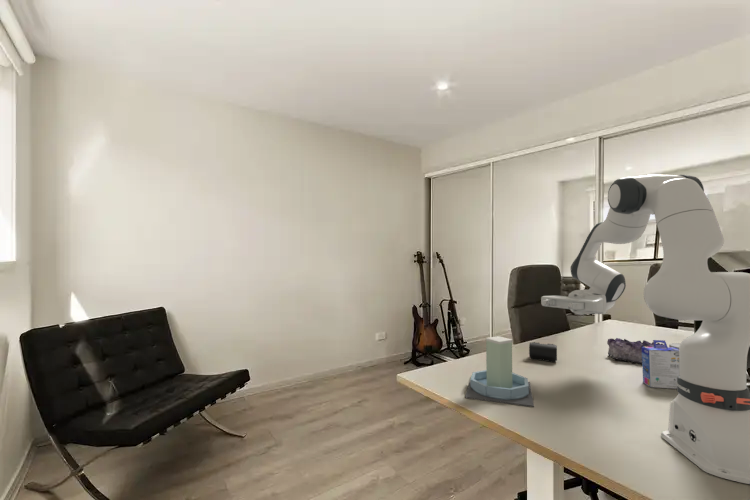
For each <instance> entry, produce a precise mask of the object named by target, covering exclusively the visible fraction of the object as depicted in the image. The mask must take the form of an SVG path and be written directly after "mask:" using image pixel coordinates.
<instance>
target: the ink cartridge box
mask: <svg viewBox="0 0 750 500" xmlns="http://www.w3.org/2000/svg"><path fill="white" fill-rule="evenodd" d="M652 342H653V343H654V347H642V364H641V366H642V367H641V368H642V383H643V384H645V385H647V387H648V388H659V389H662V388H663V389H672V390H673V389H676V390H677V384H676V381H677V376H678V375H679V349H677V348H674V347H669V346H668V345H667V344H668V343H667V342H666V340H664V339H663V340H661V339H660V340H659V339H658V340H657V339H653V340H652ZM657 343H660V344H663V345H657Z"/></svg>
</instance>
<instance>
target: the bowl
mask: <svg viewBox="0 0 750 500" xmlns="http://www.w3.org/2000/svg"><path fill="white" fill-rule="evenodd" d="M471 373H472V375H470V376H471V377H470V379H471V388H472V389H473V390H474V391H475V392H476V393H478V394H480V395H483V396H486V397H490V398H494V399H502V400H515V399H521V398H524V397H526V396H527V395H528V394H529V385H528V382H529V379H528V377H525V376H523V375H520V374H518V373H515V372H513V371H512V388H503V387H494V386H487V369H484V370H477V371H473V372H471Z"/></svg>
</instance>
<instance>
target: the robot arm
mask: <svg viewBox="0 0 750 500" xmlns="http://www.w3.org/2000/svg"><path fill="white" fill-rule="evenodd" d="M607 202H608V205H609V208H608V211H607V215H606V218H605V220H603V221H600V222H597V223H596V224H595V225H594V226H593V227H592V229H591V230H590V231H589V234H587V236H586V239H585V240H584V243H583V244H582V246H581V249H580V251H579V252H578V255H577V256H576V258H575V259H574V260H573V262H572V264H571V266H570V274H571V277H572V278H573V279H575V280H577V281H578V282H581V283H583V284H585V285H586V286H587V287H589V289H574V290H572V291H571V292H569V294H568V296H565V295H564V296H563V295H543V296H541V297H540V300H541V301H540V303H541V306H542V307H547V308H548V307H549V308H558V309H564V310H565V309H566V310H570V311H571V312H572V313H573V314H574V315H580V316H583V315H605V314H607V311H609V310H610V309H612V308H613V307H614V306H615V304H616V302H617V300H619V298H621V296H622V295H623V293H624V292H625V290H626V286H627V285H626V278H625V275H624V274H623V273H621V272H619V271H618V270H615V269H614V268H612V267H610V266H608V265H606V264H604V263H603V262H601V261H599V260H598V259H597V258H596V254H597V253H598V251H599V249H600V247H601V245H602V243H604V244H605V243H608V244H615V245H624V244H630V243H633V242H635V241H638V240H639V239H640V238H641V237H642V236H643V235H644V233H645V231H646V229H647V226H648V223H649V220H650V217H651V215H653V216H654V217H655V218H654V219H655V223H656V226H657V230H658V233H659V236H660V241H661V242H660V243H661V246H662V251H663V252H662V255H663V257H662V262H661V264H660V265H661V266H660V268H659V270H658V271H657V272H656V273H655V274H654V275H653V276H652V277H650V278H649V280H647V282H646V284H645V285H644V288H643V299H644V302H645V304H646V306H647V308H648V309H649V310H650V311H651V312H652V313H653V314H655V315H656V316H658V317H663V318H667V319H672V320H673V319H674V320H678V321H702V322H701V323H700V326H699V328H698V329H697V330H696V332H694V333H693V334H691V335H689V336H687V337H686V338H684V339H682V340H681V342H680V343H681V344H680V346H679V375H678V376H677V381H676V384H677V389H676V392H677V395H676V396H675V398H673V399H672V400H671V401H670V403H669V410H668V411H669V415H668V429H667V430H663V431H661V433H660V434H661V435H660V436H661V438H662V439H663V440H665V441H666V442H667V443H668V444H670V445H671V446H672V447H674V448H675V449H676V450H677V451H679V453H681V454H682V455H683V456H685V457H686V458H687V459H688V460H689V461H691V462H692V463H694V464H695V465H696V466H698V468H699V469H700V470H702V471H704V472H705V473H707V474H710V475H712V476H715V477H718V478H722V479H726V480H728V481H734V482H738V483H741V484H748V485H750V388H749V387H748V386H747V368H748V366H747V364H748V363H747V362H748V354H749V350H750V273H748V272H743V271H740V272H739V271H737V272H736V271H728V272H727V271H717V272H716V271H711V270H710V269H709V265H708V259H710V258H711V257H713V256H715V255H716V254H717V253H718V252H720V251H721V249H722V248H723V246H724V244H725V238H724V235H723V232H722V230H721V227H720V225H719V222H718V218H717V216H716V214H715V211H714V208H713V206H712V204H711V202H710V199H709V198H708V197H707V194H706V193H705V189H704V185H703V183H702V181H701V180H700V179H699V177H696V176H693V175H688V174H678V175H677V174H676V175H675V174H674V175H673V174H647V175H646V174H645V175H637V176H626V177H621V178H618V179H616V180H614V181H613V183H611V184H610V186H609V188H608V191H607Z"/></svg>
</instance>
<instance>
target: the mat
mask: <svg viewBox="0 0 750 500" xmlns="http://www.w3.org/2000/svg"><path fill="white" fill-rule="evenodd" d="M528 385H529V394H528V395H527V396H526V397H524V398H521V399H515V400H502V399H494V398H490V397H486V396H483V395H480V394H478V393H476V392H475V391H474V390H473V389H472V388H471V378H470V379H469V383H468V386H467V390H466V392H465V394H464V395H465V396H464V398H465V399H470V400H478V401H485V402H493V403H499V404H506V405H507V404H508V405H514V406H522V407H531V408H534V407H535V405H534V399H533V392H532V387H531V386H532V385H531V381H528Z"/></svg>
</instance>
